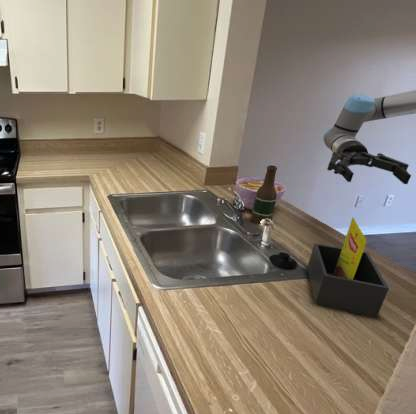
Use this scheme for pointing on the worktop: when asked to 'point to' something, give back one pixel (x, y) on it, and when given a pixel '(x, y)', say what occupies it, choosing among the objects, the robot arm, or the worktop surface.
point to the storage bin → (346, 283)
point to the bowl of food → (255, 190)
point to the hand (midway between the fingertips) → (378, 178)
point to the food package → (350, 252)
